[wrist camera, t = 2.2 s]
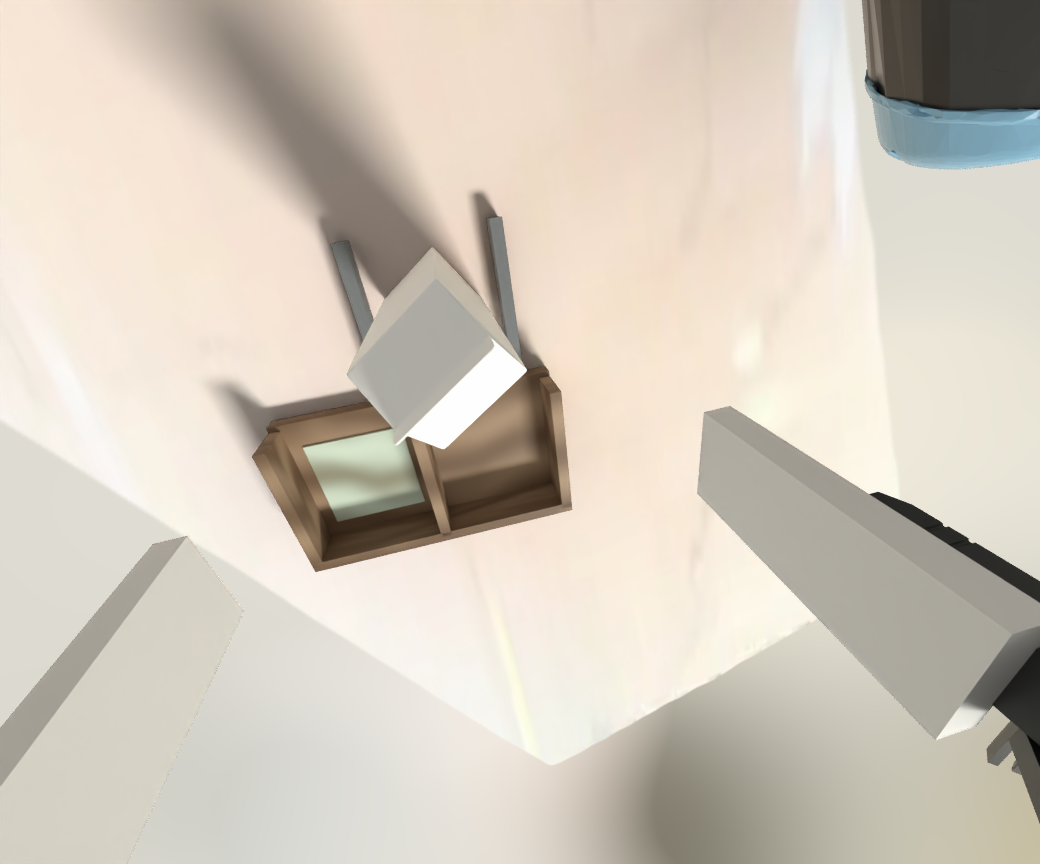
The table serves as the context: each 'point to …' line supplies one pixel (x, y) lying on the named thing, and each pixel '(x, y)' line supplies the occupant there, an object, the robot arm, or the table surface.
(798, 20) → the table surface
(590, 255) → the table surface
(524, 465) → the box
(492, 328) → the milk
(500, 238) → the bracket
